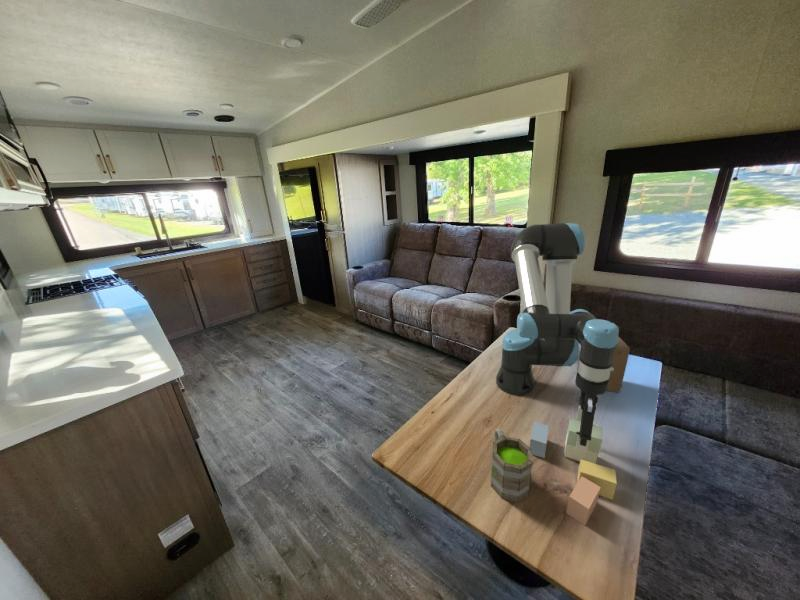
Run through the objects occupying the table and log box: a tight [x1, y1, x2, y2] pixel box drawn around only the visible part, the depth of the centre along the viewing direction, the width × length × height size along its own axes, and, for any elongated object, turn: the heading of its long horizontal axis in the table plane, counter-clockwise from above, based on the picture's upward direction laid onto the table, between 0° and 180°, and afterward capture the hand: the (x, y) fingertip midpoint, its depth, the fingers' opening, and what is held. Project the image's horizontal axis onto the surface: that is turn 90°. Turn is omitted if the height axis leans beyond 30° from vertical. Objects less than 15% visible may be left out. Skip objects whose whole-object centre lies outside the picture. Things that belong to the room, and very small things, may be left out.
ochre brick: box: [577, 459, 618, 501], centre depth 82 cm, size 8×4×6 cm, turn 61°
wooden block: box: [606, 336, 631, 393], centre depth 119 cm, size 10×10×20 cm
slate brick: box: [529, 421, 549, 459], centre depth 96 cm, size 8×4×6 cm, turn 151°
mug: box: [490, 428, 534, 503], centre depth 86 cm, size 16×11×12 cm
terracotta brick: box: [565, 476, 601, 526], centre depth 77 cm, size 8×4×6 cm, turn 131°
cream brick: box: [563, 435, 599, 464], centre depth 91 cm, size 8×4×6 cm, turn 61°
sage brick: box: [566, 418, 603, 455], centre depth 88 cm, size 8×4×6 cm, turn 61°
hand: (580, 437), depth 91 cm, fingers open, 10 cm apart
